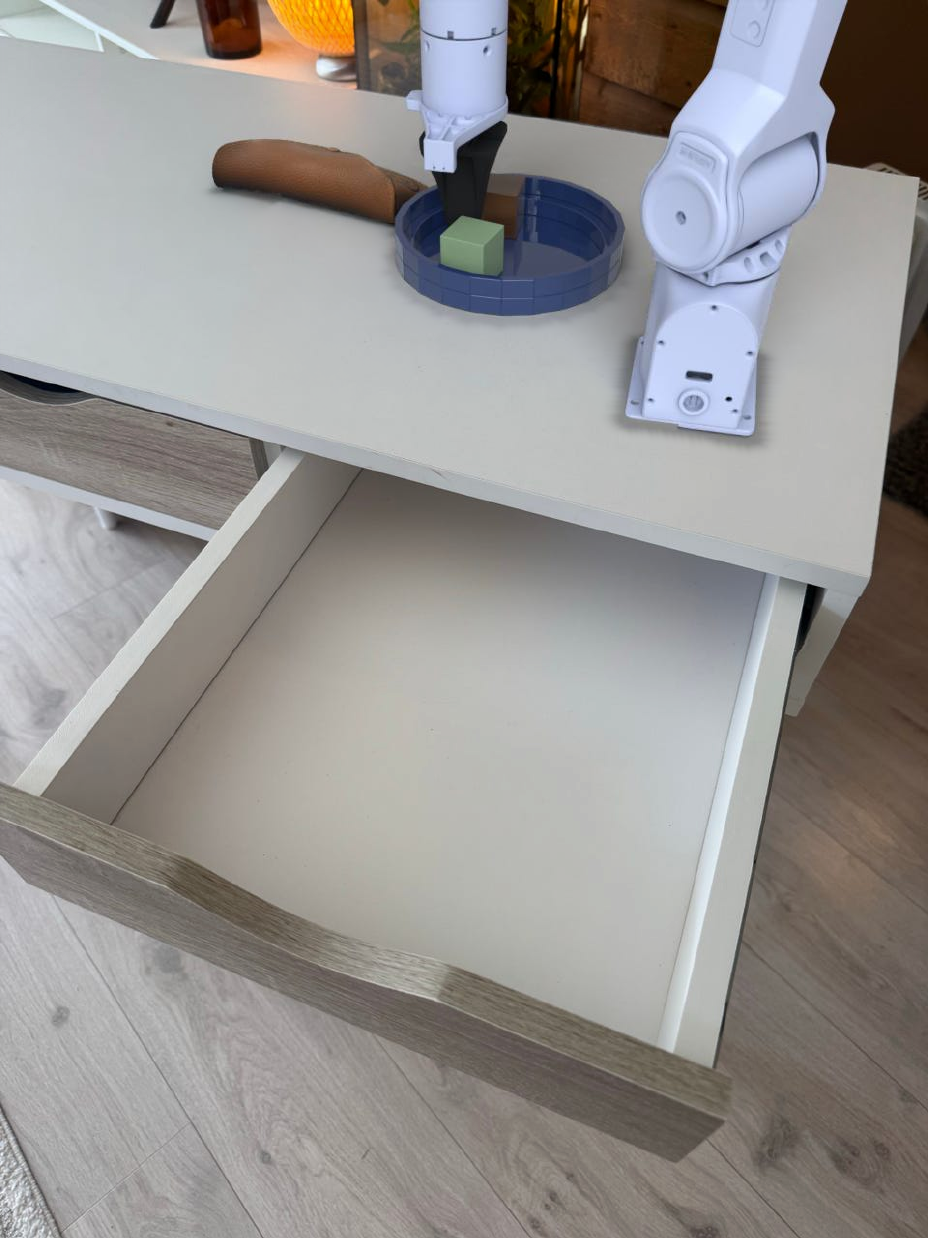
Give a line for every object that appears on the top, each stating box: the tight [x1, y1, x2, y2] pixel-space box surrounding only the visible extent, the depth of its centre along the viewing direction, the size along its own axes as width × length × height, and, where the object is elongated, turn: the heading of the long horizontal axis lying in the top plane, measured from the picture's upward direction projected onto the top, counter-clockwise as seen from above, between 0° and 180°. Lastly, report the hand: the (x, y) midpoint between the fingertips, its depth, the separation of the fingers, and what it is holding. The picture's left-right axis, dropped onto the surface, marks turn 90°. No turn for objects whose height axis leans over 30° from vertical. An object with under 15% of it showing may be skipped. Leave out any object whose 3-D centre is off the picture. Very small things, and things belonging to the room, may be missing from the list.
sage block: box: [440, 216, 504, 276], centre depth 69 cm, size 4×4×4 cm
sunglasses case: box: [211, 138, 429, 226], centre depth 79 cm, size 18×7×7 cm
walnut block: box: [481, 172, 526, 239], centre depth 74 cm, size 4×4×4 cm
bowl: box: [394, 172, 626, 317], centre depth 71 cm, size 17×17×3 cm
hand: (463, 229), depth 71 cm, fingers closed
